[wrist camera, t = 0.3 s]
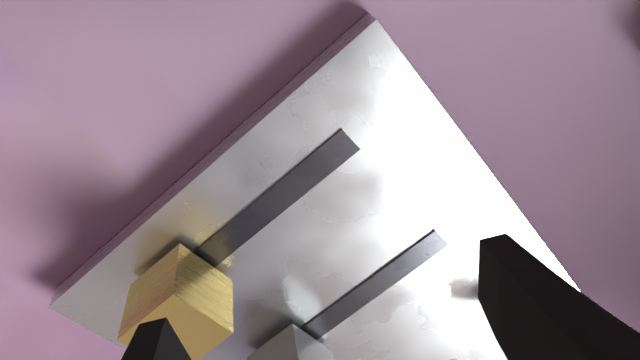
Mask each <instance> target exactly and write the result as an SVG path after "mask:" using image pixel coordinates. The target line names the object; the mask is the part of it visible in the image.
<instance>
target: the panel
mask: <svg viewBox="0 0 640 360" xmlns="http://www.w3.org/2000/svg"><path fill="white" fill-rule="evenodd" d="M505 233H506V234H507V235H509V236H510V237H512V238H513V239H514V240H515V241H516V242H518V243H519V244H520V245H521V246H523V247H524V248H525V249H526V250H527V251H529V252H530V253H531V254H532V255H534V256H535V257H536V258H537V259H539V260H540V261H541V262H542V263H543V264H545V265H546V266H547V267H549V268H550V269H551V270H552V271H554V272H555V273H556V274H557V275H559V276H560V277H561V278H563V279H564V280H565V281H567V282H568V283H569V284H570V285H572V286H573V287H575V288H576V289H577V290H579V289H578V287H577V286H576V285H575V283H574V282H573V281H572V279H571V278H570V277H569V275H568V274H567V273H566V271H565V270H564V269H563V267H562V266H561V265H560V263H559V262H558V261H557V259H556V258H555V257H554V255H553V254H552V253H551V251H550V250H549V249H548V247H547V246H546V245H545V243H544V242H543V241H542V239H541V238H540V237H539V235H538V234H537V233H536V231H535V230H534V229H533V227H532V226H531V225H530V223H529V222H528V221H527V219H526V218H525V217H524V215H523V214H522V213H521V211H520V210H519V209H518V207H517V206H516V205H515V203H514V202H513V201H512V199H511V198H510V197H509V195H508V194H507V193H506V191H505V190H504V189H503V187H502V186H501V185H500V183H499V182H498V181H497V179H496V178H495V177H494V175H493V174H492V173H491V171H490V170H489V169H488V167H487V166H486V165H485V163H484V162H483V161H482V159H481V158H480V157H479V155H478V154H477V153H476V151H475V150H474V149H473V147H472V146H471V145H470V143H469V142H468V141H467V139H466V138H465V137H464V135H463V134H462V133H461V131H460V130H459V129H458V127H457V126H456V125H455V123H454V122H453V121H452V119H451V118H450V117H449V115H448V114H447V113H446V111H445V110H444V109H443V107H442V106H441V105H440V103H439V102H438V101H437V99H436V98H435V97H434V95H433V94H432V93H431V91H430V90H429V89H428V87H427V86H426V85H425V83H424V82H423V81H422V79H421V78H420V77H419V75H418V74H417V73H416V71H415V70H414V69H413V67H412V66H411V65H410V63H409V62H408V61H407V59H406V58H405V57H404V55H403V54H402V53H401V51H400V50H399V49H398V47H397V46H396V45H395V43H394V42H393V41H392V39H391V38H390V37H389V35H388V34H387V33H386V31H385V30H384V29H383V27H382V26H381V25H380V23H379V22H378V21H377V19H375V18H374V17H373V16H372V15H371V14H369V13H367V14H366V15H364V16H363V17H362V18H361V19H360V20H359V21H358V22H357V23H355V24H354V25H353V26H352V27H351V28H350V29H349V30H347V31H346V32H345V33H344V34H343V35H342V36H341V37H340V38H338V39H337V40H336V41H335V42H334V43H333V44H332V45H331V46H329V47H328V48H327V49H326V50H325V51H324V52H323V53H321V54H320V55H319V56H318V57H317V58H316V59H315V60H314V61H312V62H311V63H310V64H309V65H308V66H307V67H306V68H305V69H303V70H302V71H301V72H300V73H299V74H298V75H297V76H296V77H294V78H293V79H292V80H291V81H290V82H289V83H288V84H286V85H285V86H284V87H283V88H282V89H281V90H280V91H279V92H277V93H276V94H275V95H274V96H273V97H272V98H271V99H270V100H268V101H267V102H266V103H265V104H264V105H263V106H262V107H260V108H259V109H258V110H257V111H256V112H255V113H254V114H253V115H251V116H250V117H249V118H248V119H247V120H246V121H245V122H244V123H242V124H241V125H240V126H239V127H238V128H237V129H236V130H234V131H233V132H232V133H231V134H230V135H229V136H228V137H227V138H225V139H224V140H223V141H222V142H221V143H220V144H219V145H218V146H216V147H215V148H214V149H213V150H212V151H211V152H210V153H208V154H207V155H206V156H205V157H204V158H203V159H202V160H201V161H199V162H198V163H197V164H196V165H195V166H194V167H193V168H192V169H190V170H189V171H188V172H187V173H186V174H185V175H184V176H182V177H181V178H180V179H179V180H178V181H177V182H176V183H175V184H173V185H172V186H171V187H170V188H169V189H168V190H167V191H166V192H164V193H163V194H162V195H161V196H160V197H159V198H158V199H156V200H155V201H154V202H153V203H152V204H151V205H150V206H149V207H147V208H146V209H145V210H144V211H143V212H142V213H141V214H140V215H138V216H137V217H136V218H135V219H134V220H133V221H132V222H130V223H129V224H128V225H127V226H126V227H125V228H124V229H123V230H121V231H120V232H119V233H118V234H117V235H116V236H115V237H114V238H112V239H111V240H110V241H109V242H108V243H107V244H106V245H104V246H103V247H102V248H101V249H100V250H99V251H98V252H97V253H95V254H94V255H93V256H92V257H91V258H90V259H89V260H88V261H86V262H85V263H84V264H83V265H82V266H81V267H80V268H78V269H77V270H76V271H75V272H74V273H73V274H72V275H71V276H69V277H68V278H67V279H66V280H65V281H64V282H63V283H62V284H60V285H59V286H58V287H57V288H56V290H55V293H54V295H53V297H52V300H51V302H50V304H49V308H51V309H52V310H54V311H56V312H58V313H60V314H62V315H64V316H65V317H67V318H69V319H71V320H73V321H75V322H77V323H78V324H80V325H82V326H84V327H86V328H88V329H90V330H91V331H93V332H95V333H97V334H99V335H101V336H102V337H104V338H106V339H108V340H110V341H112V342H114V343H115V344H117V345H119V346H121V347H123V348H125V349H127V347H128V346H127V345H125V344H123V343H121V342H119V341H117V337H118V333H119V329H120V325H121V321H122V317H123V313H124V309H125V304H126V300H127V296H128V292H129V288H130V285H131V284H132V283H133V282H134V281H135V280H137V279H138V278H139V277H140V276H141V275H142V274H144V273H145V272H146V271H147V270H148V269H150V268H151V267H152V266H153V265H154V264H156V263H157V262H158V261H159V260H160V259H161V258H163V257H164V256H165V255H166V254H167V253H169V252H170V251H171V250H172V249H173V248H174V247H176V246H177V245H178V244H179V243H180V244H182V245H183V246H185V247H186V248H188V249H189V250H190V251H192V252H193V253H195V254H196V255H197V256H199V257H200V258H202V259H203V260H204V261H206V262H207V263H209V264H210V265H211V266H213V267H214V268H216V269H217V270H218V271H220V272H221V273H223V274H224V275H225V276H227V277H228V278H230V279H231V280H232V283H233V334H231V335H230V336H229V337H227V338H226V339H225V340H224V341H222V342H221V343H220V344H218V345H217V346H216V347H214V348H213V349H212V350H210V351H209V352H208V353H206V354H205V355H204V356H203V357H201V358H200V359H199V360H247V357H248V356H249V355H250V354H252V353H253V352H254V351H256V350H257V349H259V348H260V347H261V346H263V345H264V344H265V343H267V342H268V341H269V340H271V339H272V338H273V337H275V336H276V335H277V334H279V333H280V332H281V331H283V330H284V329H286V328H287V327H288V326H290V325H291V324H292V323H293V324H294V325H296V326H297V327H298V328H300V329H301V330H303V331H304V332H305V333H307V334H308V335H310V336H311V337H312V338H314V339H315V340H317V341H318V342H320V343H321V344H322V345H324V346H325V347H327V348H328V349H329V350H331V351H332V355H333V360H507V358H506V356H505V354H504V353H503V351H502V349H501V347H500V346H499V344H498V342H497V340H496V338H495V336H494V334H493V332H492V329H491V327H490V325H489V323H488V321H487V318H486V316H485V314H484V311H483V309H482V306H481V304H480V302H479V299H478V273H479V240H480V239H484V238H488V237H493V236H497V235H501V234H505ZM579 291H580V290H579ZM580 292H581V291H580Z"/></svg>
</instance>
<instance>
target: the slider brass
mask: <svg viewBox="0 0 640 360" xmlns="http://www.w3.org/2000/svg"><path fill="white" fill-rule="evenodd" d="M165 317H166V318H167V319H168V321H169V323H170V324H171V326H172V328H173V329H174V331H175V333H176V334H177V336H178V338H179V339H180V341H181V343H182V344H183V346H184V348H185V349H186V351H187V353H188V355H189V356H190V358H191V360H199V359H200V358H201V357H203V356H204V355H205V354H206V353H208V352H209V351H210V350H212V349H213V348H214V347H216V346H217V345H218V344H220V343H221V342H222V341H224V340H225V339H226V338H227V337H229V336H230V335H231V334H233V283H232V280H231V279H230V278H228V277H227V276H225V275H224V274H223V273H221V272H220V271H218V270H217V269H216V268H214V267H213V266H211V265H210V264H209V263H207V262H206V261H204V260H203V259H202V258H200V257H199V256H197V255H196V254H195V253H193V252H192V251H190V250H189V249H188V248H186V247H185V246H183V245H182V244H180V243H179V244H178V245H177V246H176V247H174V248H173V249H172V250H171V251H170V252H169V253H167V254H166V255H165V256H164V257H163V258H161V259H160V260H159V261H158V262H157V263H156V264H154V265H153V266H152V267H151V268H150V269H148V270H147V271H146V272H145V273H144V274H142V275H141V276H140V277H139V278H138V279H137V280H135V281H134V282H133V283H132V284H131V285H130V288H129V292H128V296H127V300H126V304H125V309H124V313H123V317H122V321H121V325H120V329H119V333H118V337H117V341H119V342H121V343H123V344H125V345H127V346H128V345H129V343H130V341H131V339H132V337H133V335H134V333H135V331H136V329H137V327H138V325H139V324H141V323H145V322H149V321H153V320H157V319H161V318H165Z"/></svg>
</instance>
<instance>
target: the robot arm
mask: <svg viewBox="0 0 640 360" xmlns="http://www.w3.org/2000/svg"><path fill="white" fill-rule="evenodd" d="M478 299H479V302H480V304H481V306H482V309H483V311H484V314H485V316H486V318H487V321H488V323H489V325H490V327H491V329H492V332H493V334H494V336H495V338H496V340H497V342H498V344H499V346H500V347H501V349H502V351H503V353H504V354H505V356H506V358H507V360H640V333H638V332H637V331H635V330H634V329H632V328H631V327H629V326H628V325H627V324H625V323H624V322H622V321H621V320H619V319H618V318H616V317H615V316H613V315H612V314H610V313H609V312H608V311H606V310H605V309H603V308H602V307H600V306H599V305H598V304H596V303H595V302H594V301H592V300H591V299H589V298H588V297H587V296H585V295H584V294H583V293H581V292H580V291H579V290H577V289H576V288H575V287H573V286H572V285H570V284H569V283H568V282H567V281H565V280H564V279H563V278H561V277H560V276H559V275H557V274H556V273H555V272H554V271H552V270H551V269H550V268H549V267H547V266H546V265H545V264H543V263H542V262H541V261H540V260H539V259H537V258H536V257H535V256H534V255H532V254H531V253H530V252H529V251H527V250H526V249H525V248H524V247H523V246H521V245H520V244H519V243H518V242H516V241H515V240H514V239H513V238H512V237H510V236H509V235H507V234H506V233H505V234H501V235H497V236H493V237H488V238H484V239H480V240H479V273H478ZM121 360H191V358H190V356H189V355H188V353H187V351H186V349H185V348H184V346H183V344H182V343H181V341H180V339H179V338H178V336H177V334H176V333H175V331H174V329H173V328H172V326H171V324H170V323H169V321H168V319H167V318H166V317H165V318H161V319H157V320H153V321H149V322H145V323H141V324H139V325H138V327H137V329H136V331H135V333H134V335H133V337H132V339H131V341H130V343H129V345H128V347H127V349H126V351H125V353H124V355H123V357H122V359H121Z"/></svg>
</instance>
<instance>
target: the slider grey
mask: <svg viewBox="0 0 640 360" xmlns="http://www.w3.org/2000/svg"><path fill="white" fill-rule="evenodd" d="M247 360H333V355H332V351H331V350H329V349H328V348H327V347H325V346H324V345H322V344H321V343H320V342H318V341H317V340H315V339H314V338H312V337H311V336H310V335H308V334H307V333H305V332H304V331H303V330H301V329H300V328H298V327H297V326H296V325H294V324H293V323H292V324H291V325H290V326H288V327H287V328H286V329H284V330H283V331H281V332H280V333H279V334H277V335H276V336H275V337H273V338H272V339H271V340H269V341H268V342H267V343H265V344H264V345H263V346H261V347H260V348H259V349H257V350H256V351H254V352H253V353H252V354H250V355H249V356H248V357H247Z"/></svg>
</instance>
